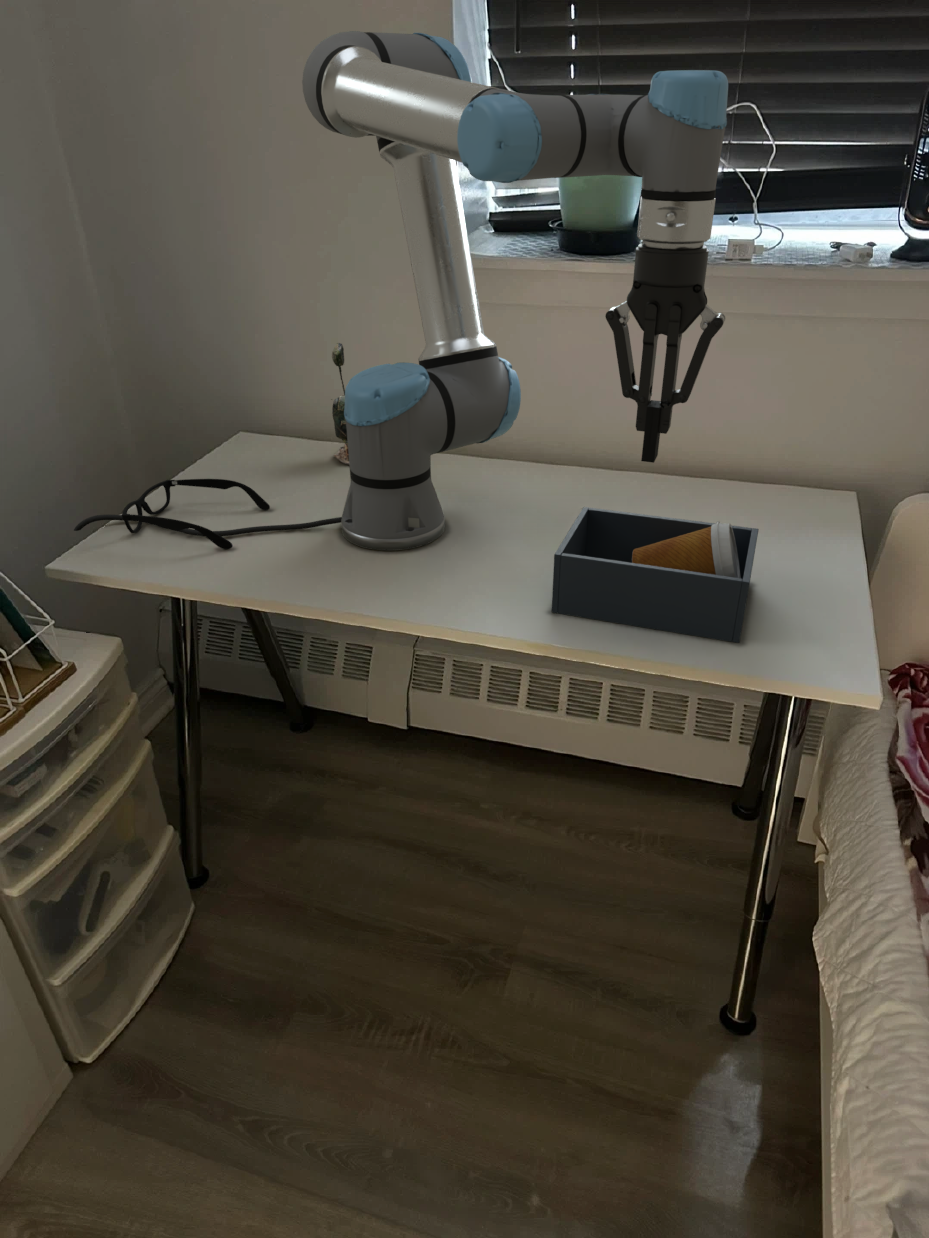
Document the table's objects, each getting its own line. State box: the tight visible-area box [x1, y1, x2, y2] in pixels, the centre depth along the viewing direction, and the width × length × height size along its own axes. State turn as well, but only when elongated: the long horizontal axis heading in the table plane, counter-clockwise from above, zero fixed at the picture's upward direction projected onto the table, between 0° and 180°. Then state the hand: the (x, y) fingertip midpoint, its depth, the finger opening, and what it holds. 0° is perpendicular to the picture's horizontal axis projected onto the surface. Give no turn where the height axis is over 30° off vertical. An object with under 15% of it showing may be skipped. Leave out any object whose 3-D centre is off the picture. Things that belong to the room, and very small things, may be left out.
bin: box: [551, 506, 759, 644], centre depth 111 cm, size 23×16×8 cm
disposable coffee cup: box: [632, 521, 741, 578], centre depth 110 cm, size 10×10×12 cm
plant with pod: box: [330, 342, 350, 466], centre depth 154 cm, size 8×11×20 cm
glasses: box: [121, 478, 271, 550], centre depth 133 cm, size 17×18×5 cm
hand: (649, 458), depth 105 cm, fingers closed
